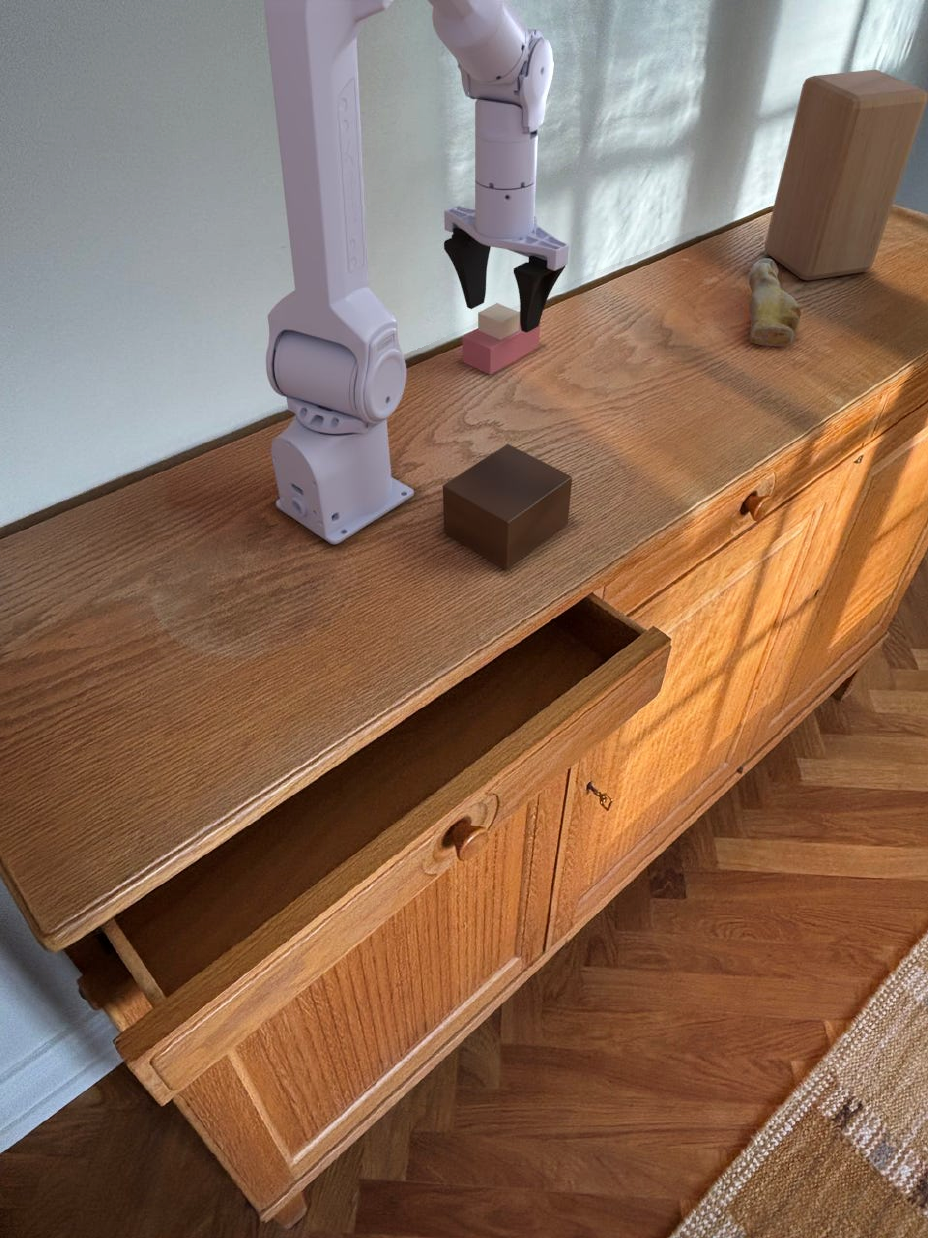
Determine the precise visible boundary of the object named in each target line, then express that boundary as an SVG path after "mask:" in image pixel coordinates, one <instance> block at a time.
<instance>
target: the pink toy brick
mask: <svg viewBox="0 0 928 1238" xmlns="http://www.w3.org/2000/svg"><path fill="white" fill-rule="evenodd" d="M477 323H478V324H477V328H476V329H474V330H472V331H470V332H468V333H466V334H464V335H463V336H461V337H462V341H461V342H462V363H464V364H466V365H468V366H470V367H472V368H474V369H475V370H478V371H480V372H483V373H485V374H487V375H489V376H491V375H493V374H494V373H497V372H498V371H500V370H502V369H503V368H505V367H506V366H509V365H510V364H512V363H514V362H516V361H517V360H519V359H520V358H523V357H525V356H526V355H528V354H530V353H531V352H533V351H534V350H537V349H538V348H540V331H541V330H540V329H541V322H540V323H539V326H538V327H536V328H535V329H533V330H531V331H529V332H527V333H526V332H523V331H521V325H520V311H517V310H515V309H514V308H510V307H508V306H505V305H503V304H501V303H498V302H496V303H494V304H493V305H490V306H489V307H486V308H484V309H482V310H480V311H479V312H478V313H477Z"/></svg>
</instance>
